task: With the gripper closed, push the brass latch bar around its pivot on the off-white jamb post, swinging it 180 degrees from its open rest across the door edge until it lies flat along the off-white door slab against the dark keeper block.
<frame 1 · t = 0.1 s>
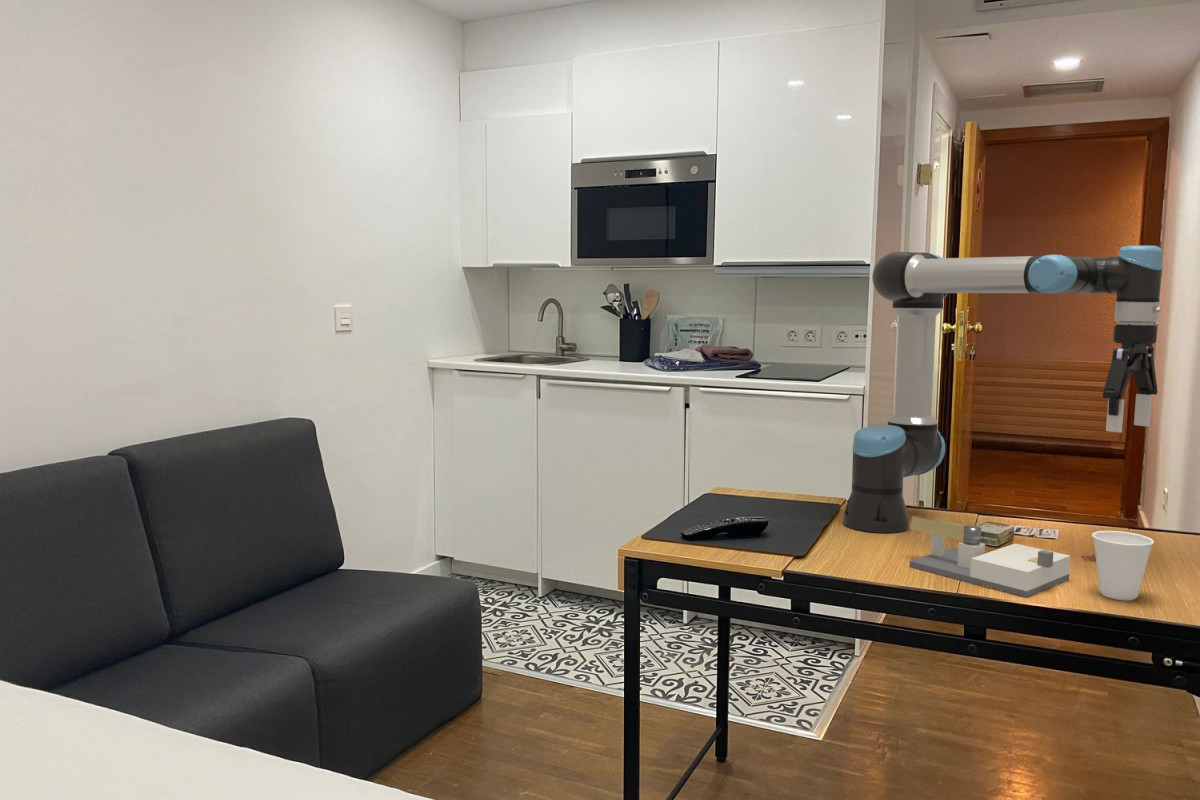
hand: (1128, 428, 187), 28 cm above the table, fingers open, 13 cm apart
door board: (987, 573, 182), on the table
key: (1101, 568, 188), on the table
cup: (1118, 596, 169), on the table
latch bar: (945, 528, 186), point 8 cm above the table, hinge at 180.0°
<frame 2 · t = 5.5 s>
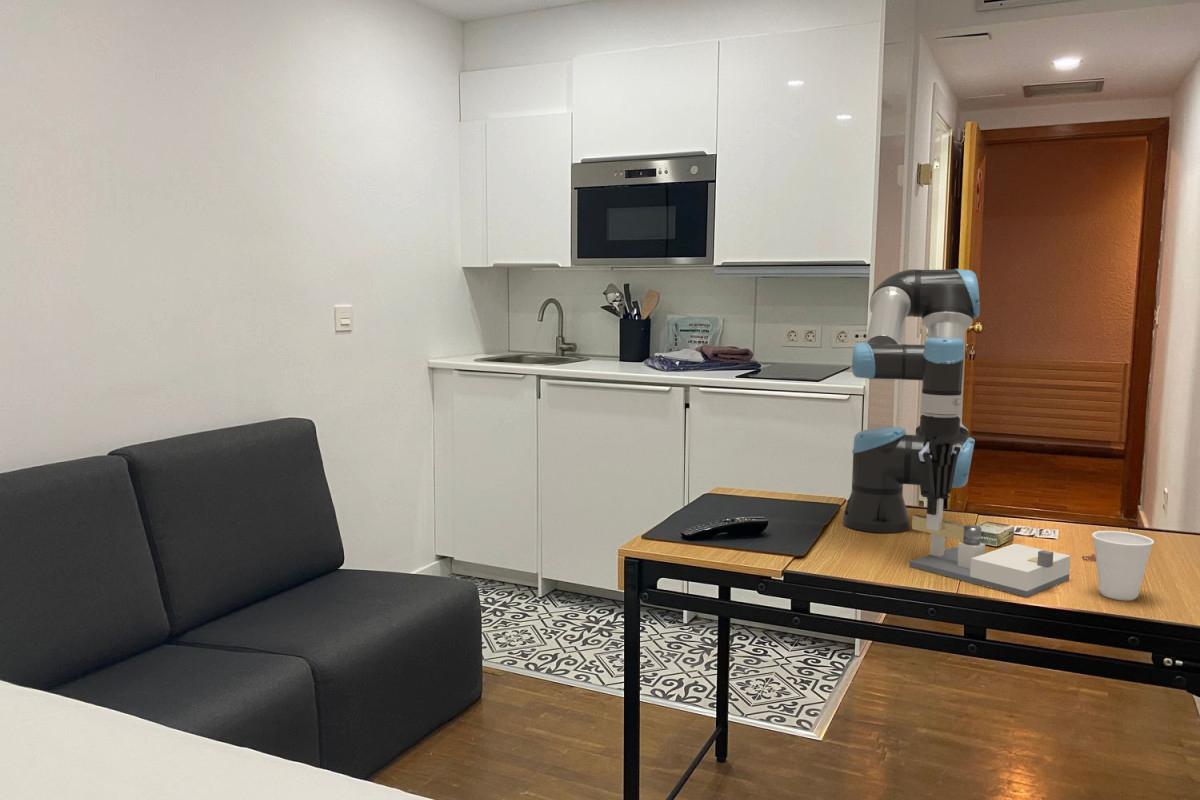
hand: (933, 529, 187), 7 cm above the table, fingers closed
latch bar: (946, 528, 187), point 8 cm above the table, hinge at 178.7°, touching gripper
everything else where it was.
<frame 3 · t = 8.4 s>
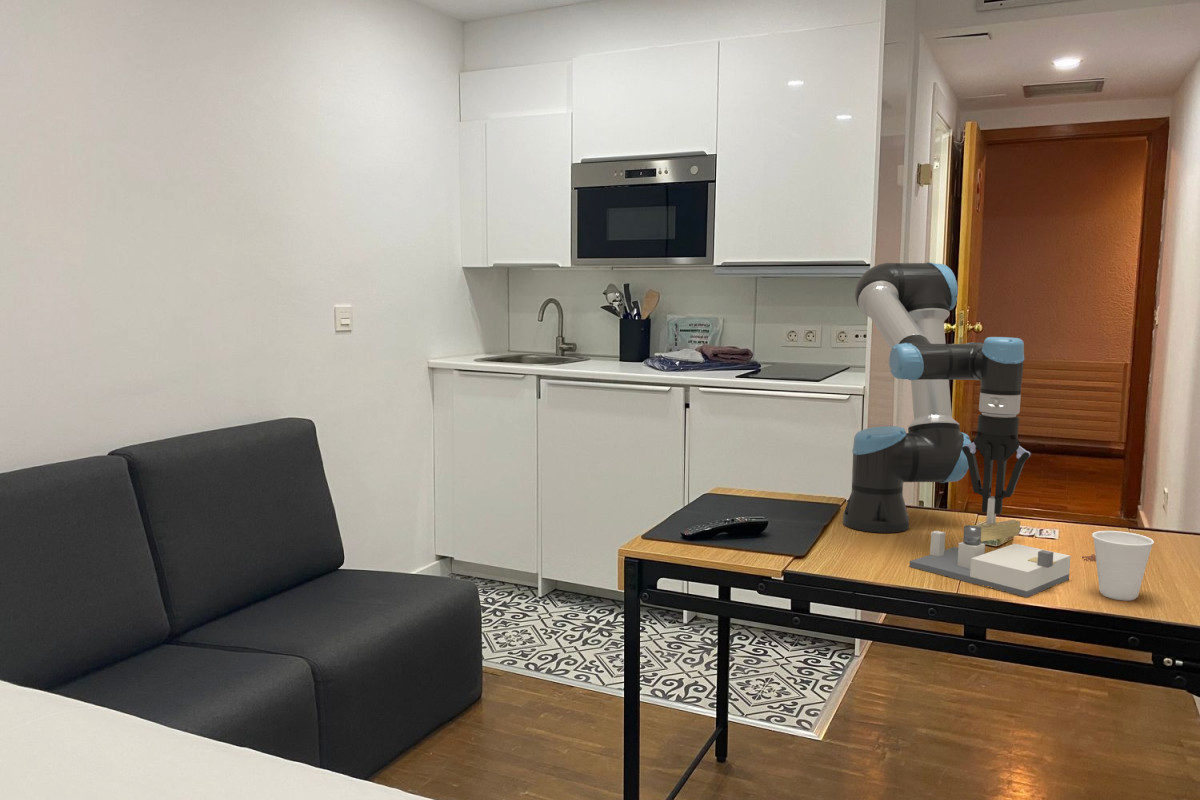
hand: (990, 528, 187), 7 cm above the table, fingers closed
latch bar: (992, 531, 185), point 8 cm above the table, hinge at 78.6°, touching gripper
everything else where it was.
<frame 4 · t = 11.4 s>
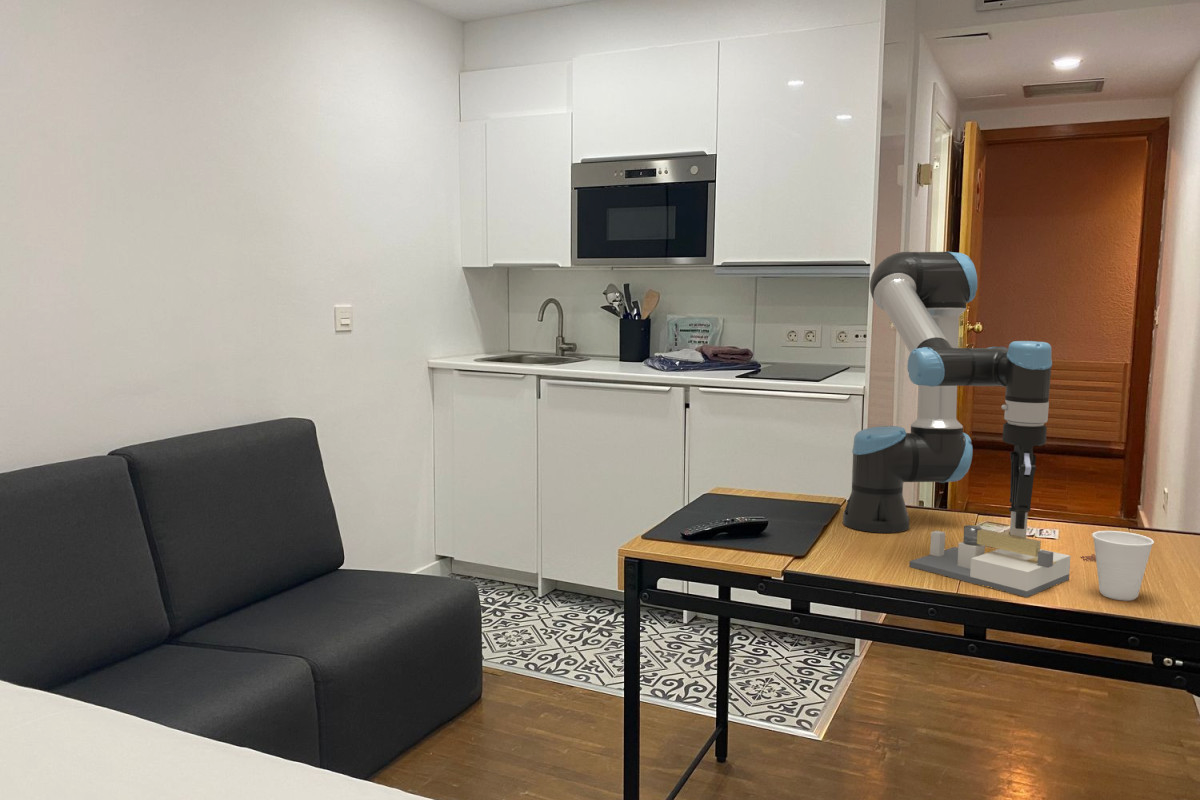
hand: (1017, 543, 177), 7 cm above the table, fingers closed
latch bar: (1000, 540, 178), point 8 cm above the table, hinge at 1.2°, touching gripper
everything else where it was.
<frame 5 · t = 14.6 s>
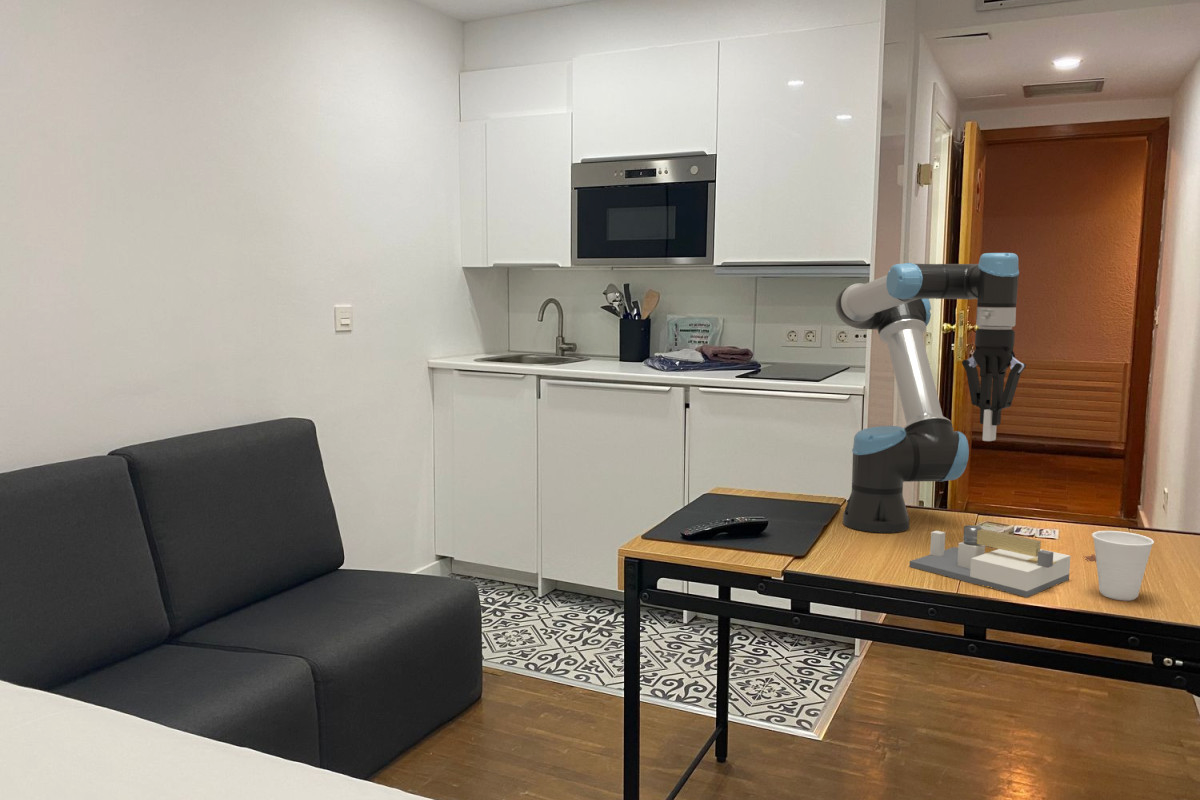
hand: (989, 440, 194), 24 cm above the table, fingers closed
latch bar: (1000, 540, 178), point 8 cm above the table, hinge at 1.2°
everything else where it was.
at the end: latch bar at +1° (first picture: +180°); latch bar touching nothing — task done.
